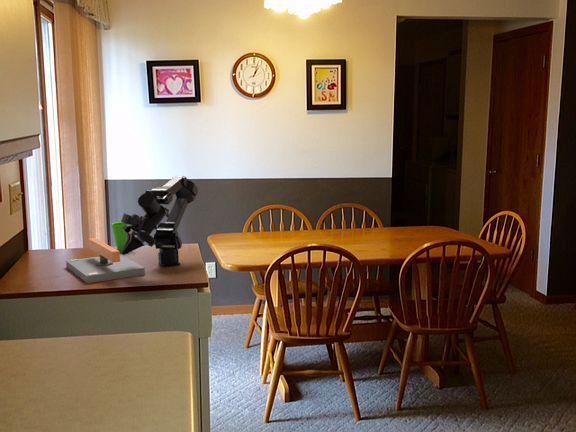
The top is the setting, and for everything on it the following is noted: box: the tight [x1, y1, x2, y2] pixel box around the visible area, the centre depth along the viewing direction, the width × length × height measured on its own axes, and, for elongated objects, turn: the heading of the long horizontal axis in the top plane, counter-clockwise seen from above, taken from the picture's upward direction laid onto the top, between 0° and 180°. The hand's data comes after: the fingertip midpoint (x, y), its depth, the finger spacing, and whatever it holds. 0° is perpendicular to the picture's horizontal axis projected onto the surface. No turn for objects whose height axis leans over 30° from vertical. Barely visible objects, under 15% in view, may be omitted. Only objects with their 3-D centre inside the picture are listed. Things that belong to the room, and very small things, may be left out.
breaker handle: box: [87, 237, 121, 264], centre depth 220 cm, size 3×30×7 cm, turn 33°
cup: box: [110, 221, 132, 251], centre depth 258 cm, size 9×9×11 cm
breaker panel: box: [65, 254, 146, 284], centre depth 221 cm, size 20×28×3 cm
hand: (122, 254), depth 212 cm, fingers closed
